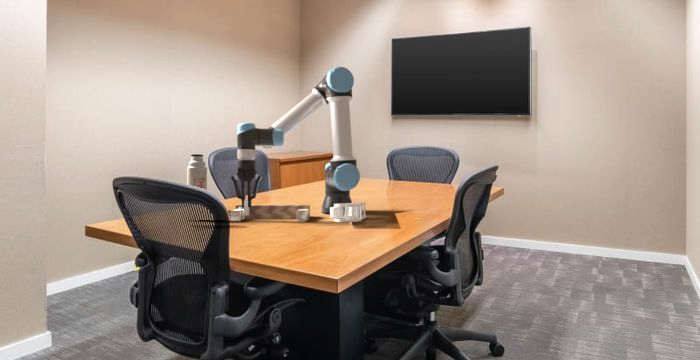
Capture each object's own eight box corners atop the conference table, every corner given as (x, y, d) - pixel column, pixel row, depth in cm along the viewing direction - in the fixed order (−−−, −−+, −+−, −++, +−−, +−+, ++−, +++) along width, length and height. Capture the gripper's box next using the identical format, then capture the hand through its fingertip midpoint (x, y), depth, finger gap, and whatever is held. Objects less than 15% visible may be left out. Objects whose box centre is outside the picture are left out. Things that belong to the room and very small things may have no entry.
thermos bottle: (207, 220, 214) (208, 154, 214) (187, 221, 211) (188, 153, 211) (205, 219, 222) (205, 154, 222) (186, 220, 219) (186, 154, 219)
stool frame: (309, 218, 230) (309, 204, 230) (305, 221, 210) (305, 207, 210) (231, 218, 231) (231, 204, 231) (219, 221, 211) (219, 207, 211)
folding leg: (239, 221, 209) (239, 208, 209) (230, 221, 209) (230, 208, 209) (245, 218, 224) (245, 206, 224) (237, 218, 223) (237, 206, 223)
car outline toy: (356, 218, 231) (356, 202, 231) (375, 219, 223) (375, 203, 223) (324, 221, 216) (324, 203, 216) (343, 222, 208) (343, 204, 208)
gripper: (263, 160, 221) (263, 214, 221) (233, 160, 221) (233, 214, 221) (259, 159, 213) (260, 215, 213) (228, 159, 214) (229, 216, 214)
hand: (246, 215), depth 217 cm, fingers closed
